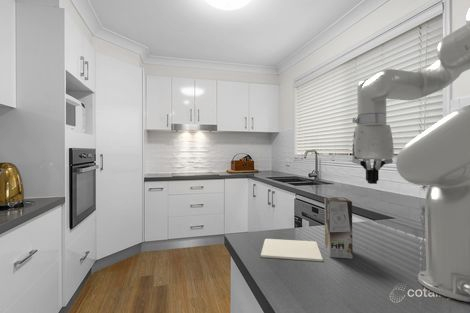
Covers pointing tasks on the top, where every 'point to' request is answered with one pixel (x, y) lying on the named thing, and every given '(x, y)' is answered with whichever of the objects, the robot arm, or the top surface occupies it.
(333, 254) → the coffee box
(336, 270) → the top surface
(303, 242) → the mat
